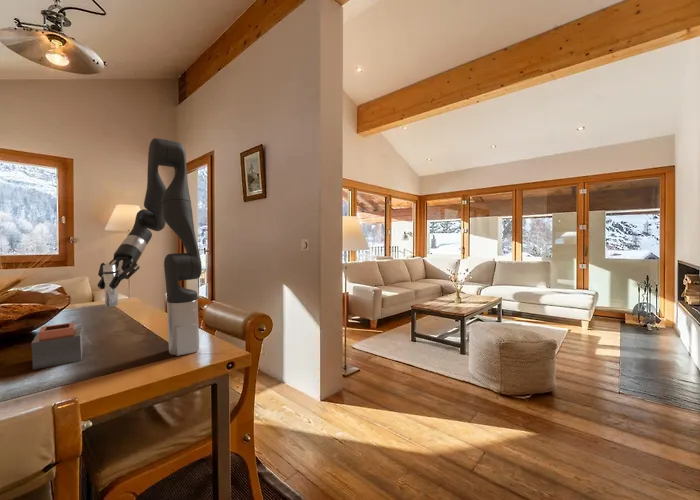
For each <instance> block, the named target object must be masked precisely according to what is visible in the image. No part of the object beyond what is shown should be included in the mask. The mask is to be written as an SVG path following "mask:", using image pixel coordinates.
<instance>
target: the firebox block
mask: <svg viewBox="0 0 700 500" xmlns="http://www.w3.org/2000/svg"><path fill="white" fill-rule="evenodd" d="M82 336H83V335H82V327H79V328H76V322H74V321H73V322H67V323H60V324H53V325H45V326H41V327H40V330H39V331H38V333H37V334H36V335H35V336H34V338H33V340H32V341H31V346H30V347H31V359H32V370H33V371H34V370H38V369H39V370H40V369H45V368H50V367H55V366H61V365H65V364H70V363H76V362H81V361H82V359H83V351H84V350H83V337H82Z"/></svg>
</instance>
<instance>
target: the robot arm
mask: <svg viewBox="0 0 700 500" xmlns="http://www.w3.org/2000/svg"><path fill="white" fill-rule="evenodd" d="M147 155H148V156H147V178H146V179H147V180H146V181H147V182H146V192H145V196H144V201H143V207H144V208H145V209H141V210H138V211H137V213H136V215H135V219H134V224H133V227H132V229H131V231H130V232H129V234H128V235H127V236H126V237H125V238H124V239H123V240H122V242H121V243H120V245H119V246H118V248H117V249H116V250H115V252H114V253H113V258H112V259H111V260H110V261H109V262H108V263H104V262H101V263H100V265H99V270H98V274H97V276H99V277H100V278H101V279H100V280H99V281H98V283H97V287H98V288H99V289H100V290H104V275H103V265H116V271H117V273H116V277H114V279H113V280H112V282H111V283H110V285H109V286H110V287H111V288H112V289H115V288H116V287H117V288H118V286H119V285H120V283H121V282H122V281H123V280H129V278H131V277H132V276H133V275H134V274H136V272H137V271H138V270H140V268H141V267H140V265H139V264H138V261H139V259H140V257H142V254H144V252H145V250H146V247H147V245H148V244H149V242H150V241H151V239H152V237H153V233H152V231H154V232H160V231H162V230H163V229H164V228H165V226H166V224H167V226H169V228H170V229H171V230H172V231H173V232H174V234H175V235H176V236H177V237H178V238H179V240H180V241H181V242H182V245H183V247H184V250H185V252H183V253H182V252H178V253H168V254H166V256H165V257H164V261H163V269H164V278H165V289H166V291H165V292H166V293H165V294H166V305H167V306H166V307H167V309H166V310H167V311H166V312H167V314H166V315H167V335H168V337H167V338H168V353H169V354H170V355H172V356H174V355H175V356H177V357H178V356H184V355H188V354H192V353H197V352H198V350H200V334H199V333H200V332H199V331H200V330H199V327H200V326H199V303H198V302H199V299H198V293H197V290H194V289H189V288H186V287H183V286H181V285H180V283H179V282H181V281H182V282H183V281H190V280H198V279H199V278H200V277H202V270H203V268H202V261H201V256H200V255H201V254H200V251H199V250H200V249H199V245H198V242H197V238H196V232H195V226H194V225H195V224H194V216H193V207H192V200H191V195H190V190H189V183H188V170H187V155H186V149H185V147H184V144H183V143H181V142H178V141H175V140H171V139H169V140H168V139H165V138H157V137H154V138H152V139H151V141H150V143H149V146H148V154H147ZM161 166H162V167H167V168H169V167H170V168H173V169H174V175H173V176H174V177H173V178H172V180H171V182H170V184H169V185H168V187H166V185H165V184H164V181H163V180H162V178H161V176H160V173H159V167H161Z"/></svg>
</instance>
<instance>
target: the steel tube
mask: <svg viewBox="0 0 700 500" xmlns="http://www.w3.org/2000/svg"><path fill="white" fill-rule="evenodd" d="M116 273H117V271H116V265H103V275H104V289H103V290H104V304H105V305H104V307H115V306H119V294H118V286H117V287H116V288H115V289H112V288H111V287H110V286H109V285H110V283H111V282H112V280H113V279H114V277H116Z"/></svg>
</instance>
